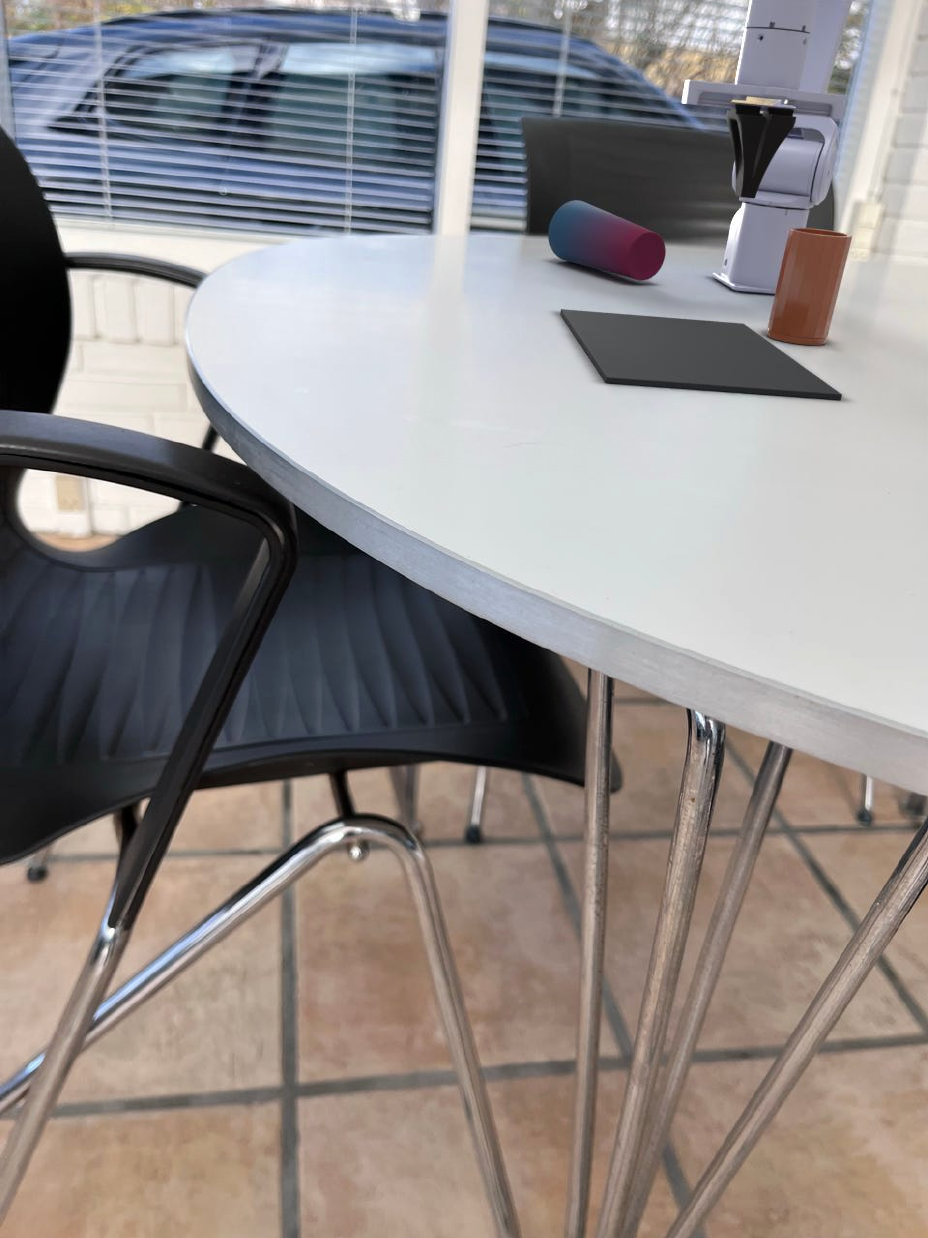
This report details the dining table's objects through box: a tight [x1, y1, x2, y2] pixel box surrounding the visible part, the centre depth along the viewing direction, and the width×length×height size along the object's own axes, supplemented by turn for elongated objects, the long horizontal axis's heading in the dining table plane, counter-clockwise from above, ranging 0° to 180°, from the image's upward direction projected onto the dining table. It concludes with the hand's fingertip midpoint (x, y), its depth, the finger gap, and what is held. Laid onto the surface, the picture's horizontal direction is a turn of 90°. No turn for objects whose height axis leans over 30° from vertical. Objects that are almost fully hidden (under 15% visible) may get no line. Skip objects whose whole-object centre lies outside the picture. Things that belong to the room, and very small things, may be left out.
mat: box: [559, 308, 843, 401], centre depth 82 cm, size 24×17×1 cm
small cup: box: [766, 227, 853, 346], centre depth 89 cm, size 5×5×9 cm
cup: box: [547, 199, 667, 281], centre depth 115 cm, size 7×7×15 cm
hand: (744, 196), depth 97 cm, fingers closed
